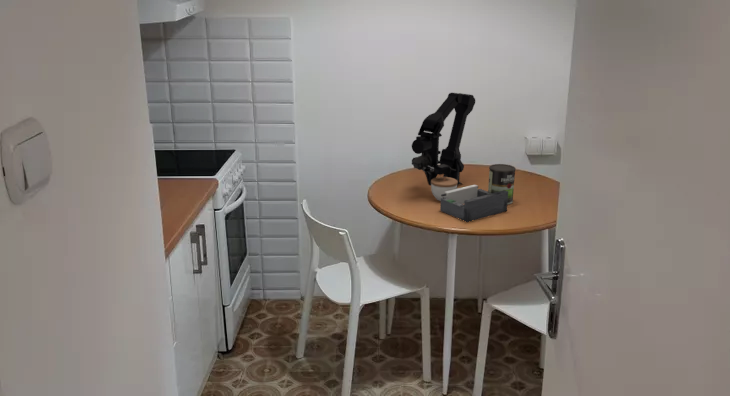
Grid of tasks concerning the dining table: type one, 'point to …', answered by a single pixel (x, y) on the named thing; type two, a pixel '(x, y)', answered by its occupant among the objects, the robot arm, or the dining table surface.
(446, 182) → the lidded jar
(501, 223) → the dining table surface
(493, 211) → the box
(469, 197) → the grey flat bar
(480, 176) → the dining table surface
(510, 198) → the coffee can
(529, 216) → the dining table surface
